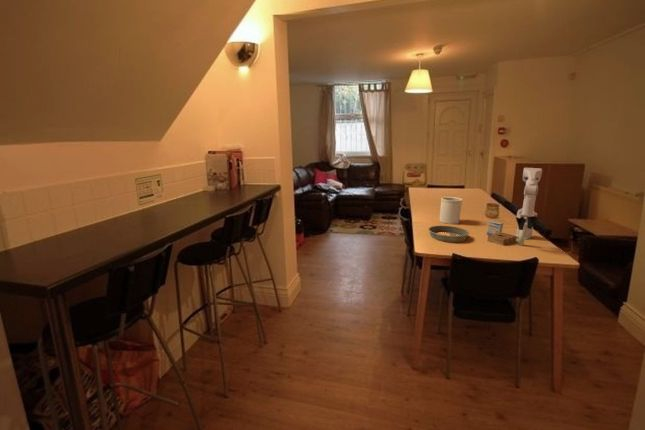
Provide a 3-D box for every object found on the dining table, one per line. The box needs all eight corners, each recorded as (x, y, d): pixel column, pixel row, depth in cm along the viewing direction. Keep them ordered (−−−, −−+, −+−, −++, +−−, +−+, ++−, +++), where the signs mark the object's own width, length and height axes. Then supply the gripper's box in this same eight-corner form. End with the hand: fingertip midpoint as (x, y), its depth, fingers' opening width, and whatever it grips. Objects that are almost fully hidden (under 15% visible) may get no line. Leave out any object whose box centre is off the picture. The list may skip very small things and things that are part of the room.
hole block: (500, 237, 223) (501, 232, 222) (515, 241, 215) (516, 236, 214) (487, 240, 215) (488, 235, 215) (502, 245, 207) (503, 239, 206)
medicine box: (486, 234, 229) (488, 221, 227) (488, 233, 232) (490, 220, 230) (499, 237, 223) (500, 224, 221) (501, 235, 226) (503, 222, 224)
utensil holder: (456, 219, 266) (459, 196, 261) (462, 224, 251) (465, 200, 247) (437, 218, 267) (439, 196, 263) (441, 224, 253) (443, 200, 248)
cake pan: (449, 230, 238) (450, 223, 237) (477, 240, 216) (477, 233, 215) (419, 233, 230) (420, 227, 228) (444, 245, 207) (445, 237, 206)
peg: (519, 243, 210) (521, 229, 208) (524, 245, 208) (526, 230, 206) (516, 244, 209) (518, 230, 207) (521, 246, 206) (523, 231, 204)
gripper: (526, 208, 194) (522, 231, 197) (543, 206, 200) (539, 229, 203) (515, 205, 200) (511, 228, 203) (532, 204, 206) (528, 226, 209)
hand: (525, 229), depth 204 cm, fingers open, 7 cm apart
